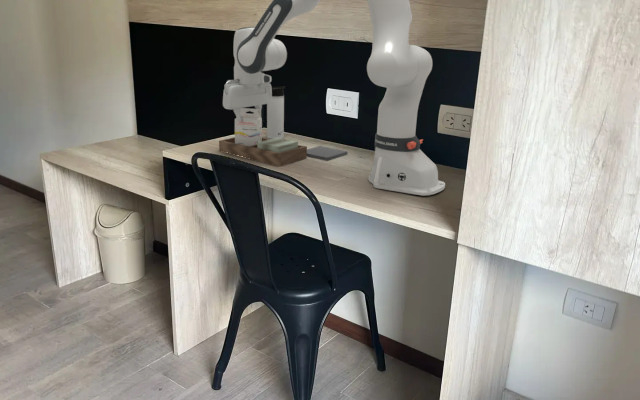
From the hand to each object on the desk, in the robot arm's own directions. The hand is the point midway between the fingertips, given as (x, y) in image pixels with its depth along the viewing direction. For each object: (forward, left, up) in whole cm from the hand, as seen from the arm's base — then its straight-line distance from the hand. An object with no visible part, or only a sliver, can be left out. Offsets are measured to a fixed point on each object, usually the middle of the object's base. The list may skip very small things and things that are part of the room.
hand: (248, 119), depth 188 cm
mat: (-21, -15, -11) cm, 28 cm away
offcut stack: (-13, +1, -12) cm, 18 cm away
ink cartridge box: (0, 0, -11) cm, 11 cm away
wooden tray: (-6, 0, -11) cm, 13 cm away
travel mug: (+6, -21, -11) cm, 25 cm away
